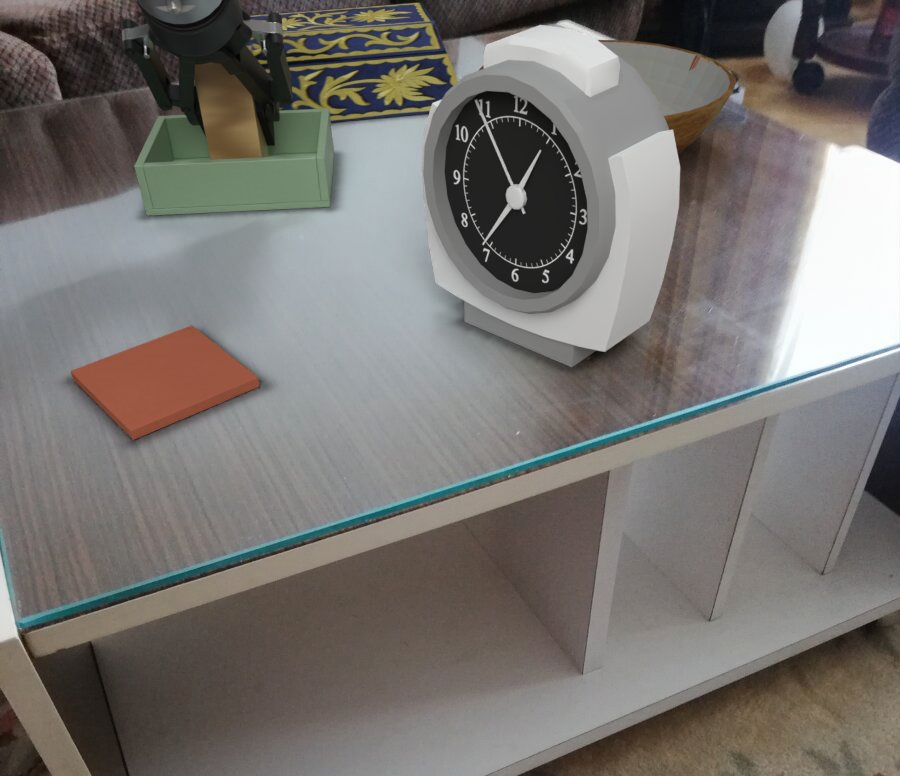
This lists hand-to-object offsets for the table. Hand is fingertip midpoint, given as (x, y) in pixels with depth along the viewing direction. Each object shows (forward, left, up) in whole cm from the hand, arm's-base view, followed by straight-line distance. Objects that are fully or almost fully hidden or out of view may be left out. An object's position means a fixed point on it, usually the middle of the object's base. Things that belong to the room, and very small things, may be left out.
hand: (242, 133), depth 93 cm
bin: (+3, -2, -4) cm, 5 cm away
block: (+3, -2, -3) cm, 5 cm away
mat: (+32, -26, -4) cm, 41 cm away
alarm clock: (+44, 0, -4) cm, 44 cm away
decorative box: (-10, +18, -4) cm, 21 cm away
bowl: (+23, +28, -4) cm, 36 cm away
